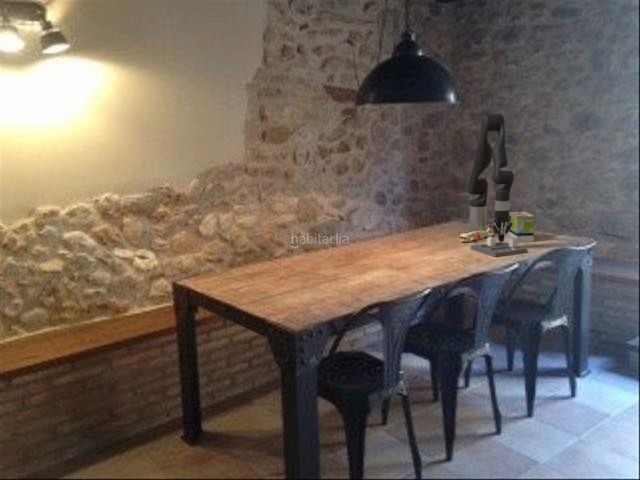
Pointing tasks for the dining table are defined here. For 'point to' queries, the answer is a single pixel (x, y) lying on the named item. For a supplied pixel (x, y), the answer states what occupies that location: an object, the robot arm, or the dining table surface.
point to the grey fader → (513, 242)
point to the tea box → (521, 226)
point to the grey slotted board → (498, 249)
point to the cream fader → (491, 241)
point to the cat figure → (476, 235)
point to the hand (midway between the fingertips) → (501, 241)
